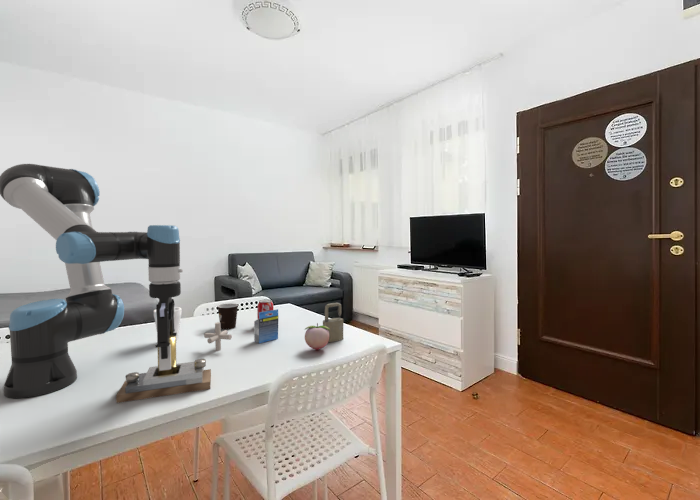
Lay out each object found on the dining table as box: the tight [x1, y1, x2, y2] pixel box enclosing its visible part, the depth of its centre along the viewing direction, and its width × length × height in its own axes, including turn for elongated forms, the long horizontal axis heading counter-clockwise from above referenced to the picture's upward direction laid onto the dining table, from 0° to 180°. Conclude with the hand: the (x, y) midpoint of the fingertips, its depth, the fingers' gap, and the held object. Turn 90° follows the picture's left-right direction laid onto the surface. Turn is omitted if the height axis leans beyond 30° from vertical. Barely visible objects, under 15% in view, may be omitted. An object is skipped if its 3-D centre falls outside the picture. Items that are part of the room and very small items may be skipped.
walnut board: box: [115, 368, 212, 404], centre depth 93 cm, size 22×9×2 cm, turn 111°
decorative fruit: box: [303, 322, 330, 351], centre depth 123 cm, size 9×8×10 cm
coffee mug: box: [217, 303, 239, 331], centre depth 150 cm, size 12×9×10 cm
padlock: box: [322, 302, 344, 343], centre depth 135 cm, size 4×8×15 cm, turn 122°
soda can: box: [256, 298, 274, 320], centre depth 153 cm, size 7×7×12 cm
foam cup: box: [153, 306, 183, 344], centre depth 130 cm, size 10×9×13 cm
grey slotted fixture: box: [125, 358, 207, 394], centre depth 93 cm, size 20×9×5 cm, turn 111°
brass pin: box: [156, 336, 177, 376], centre depth 93 cm, size 4×4×12 cm
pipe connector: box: [203, 321, 232, 352], centre depth 123 cm, size 10×10×10 cm
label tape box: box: [253, 308, 279, 344], centre depth 134 cm, size 9×4×12 cm, turn 135°
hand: (167, 364), depth 93 cm, fingers open, 6 cm apart
